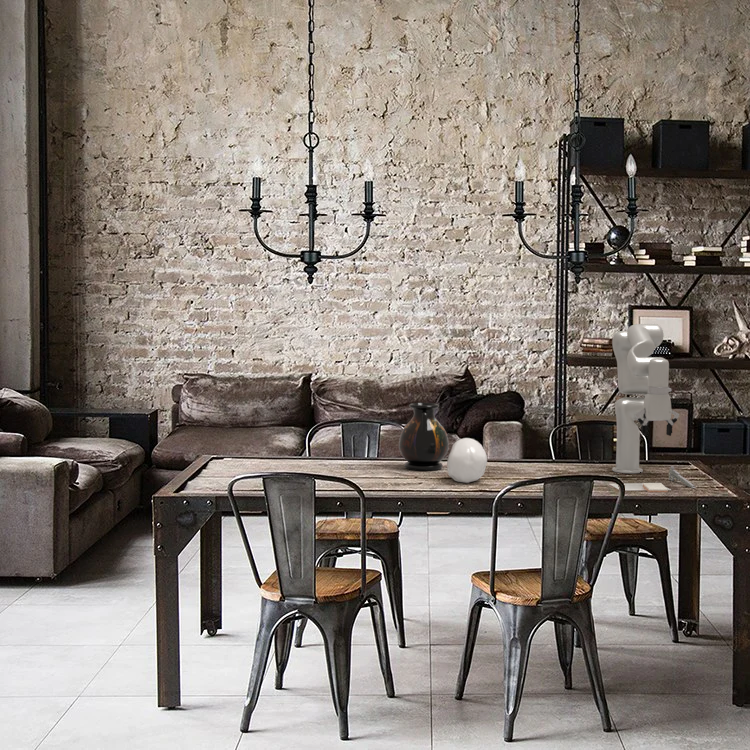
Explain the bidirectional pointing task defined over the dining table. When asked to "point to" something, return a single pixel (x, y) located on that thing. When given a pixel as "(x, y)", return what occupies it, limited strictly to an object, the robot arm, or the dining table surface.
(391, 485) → the dining table surface
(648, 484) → the tile
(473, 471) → the white egg
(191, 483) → the dining table surface
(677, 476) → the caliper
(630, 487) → the mat
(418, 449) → the black vase
